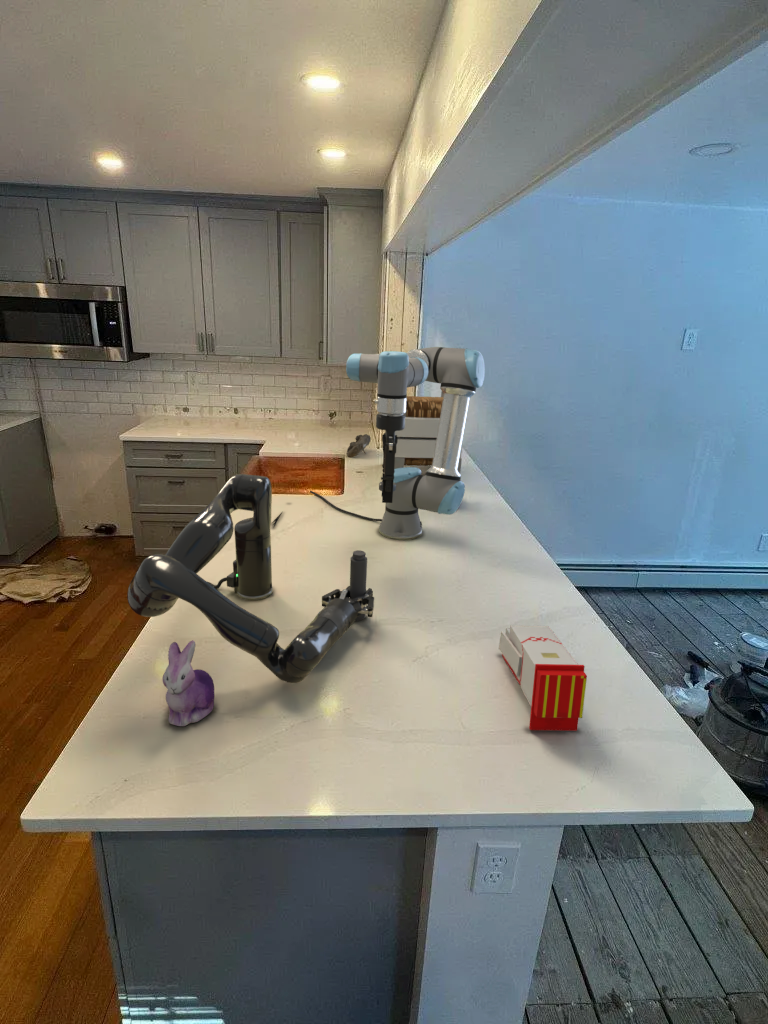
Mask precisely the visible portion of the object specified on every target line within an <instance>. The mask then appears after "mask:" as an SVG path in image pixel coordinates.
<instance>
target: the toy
mask: <svg viewBox="0 0 768 1024" xmlns="http://www.w3.org/2000/svg"><path fill="white" fill-rule="evenodd" d="M499 635H500V636H499V643H498V650H499V652H500V653H501V657H502V658H503V660H504V662H505V663H506V665H507V667H508V669H509V670H510V671H511V673H512V675H513V676H514V678H515V680H516V681H517V683H518V685H520V689H521V691H522V692H523V695H524V696H525V698H526V700H527V702H528V704H529V706H530V715H529V725H528V729H529V731H562V732H563V731H569V732H570V731H572V732H577V731H578V727H579V719H582V718H583V713H584V705H585V697H586V689H587V688H586V687H587V678H588V675H587V673H586V672H585V665H584V664H579V663H578V662H577V661H576V660H575V658H574V657H573V656H572V654H571V653H570V652H569V651H568V649H567V648H566V646H565V645H564V644H563V643H562V642H561V640H560V639H559V637H558V636H557V635H556V633H555V632H554V631H553V630H552V629H551V627H550V626H549V625H516V624H515V625H514V624H513V625H512V624H511V625H510V626H509V627H505V632H504V631H500V634H499Z"/></svg>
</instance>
